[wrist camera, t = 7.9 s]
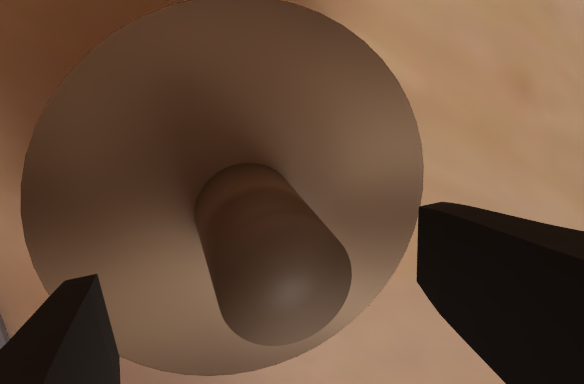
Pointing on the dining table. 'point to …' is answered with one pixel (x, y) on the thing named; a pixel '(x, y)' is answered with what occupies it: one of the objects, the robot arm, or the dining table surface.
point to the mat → (3, 334)
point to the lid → (225, 183)
